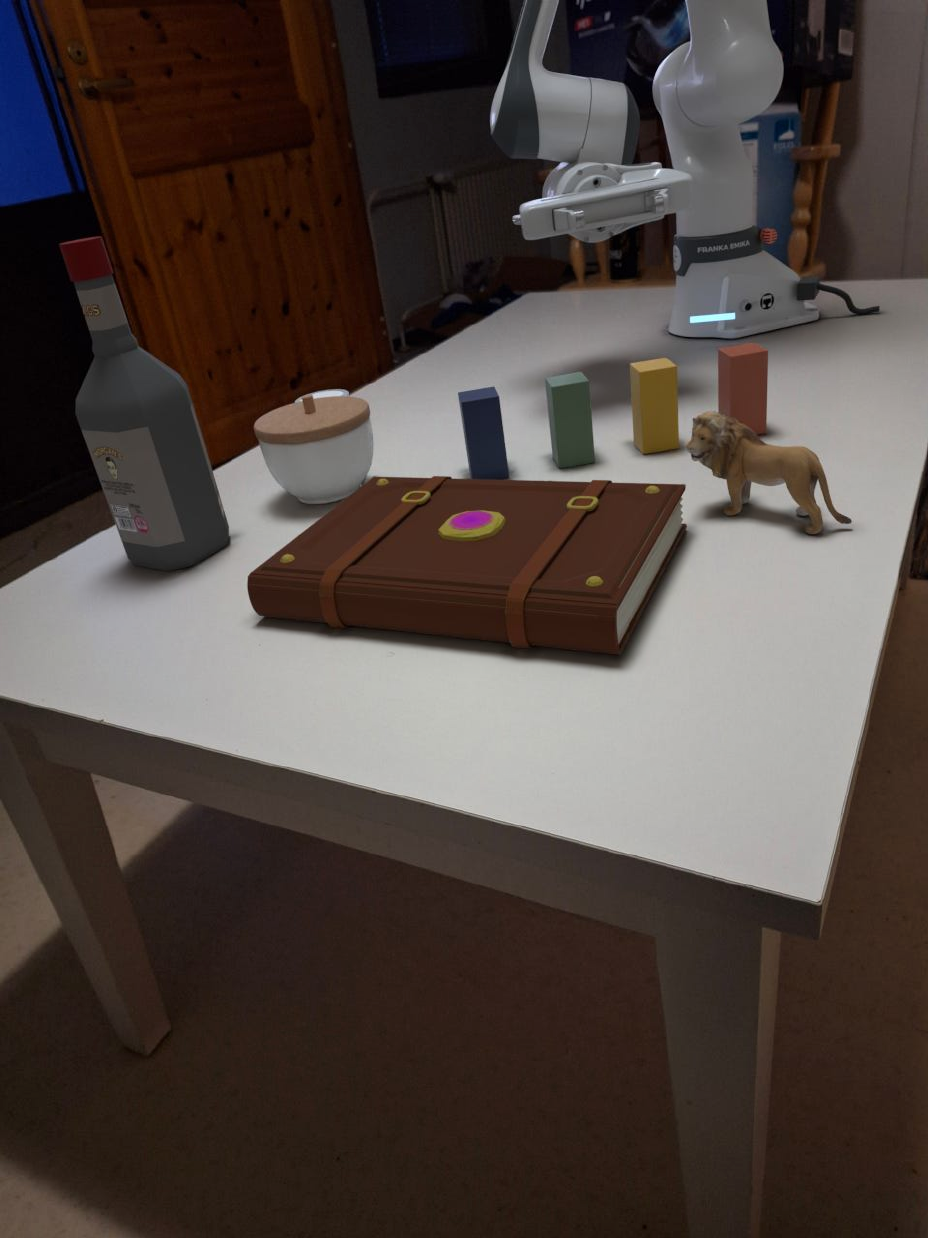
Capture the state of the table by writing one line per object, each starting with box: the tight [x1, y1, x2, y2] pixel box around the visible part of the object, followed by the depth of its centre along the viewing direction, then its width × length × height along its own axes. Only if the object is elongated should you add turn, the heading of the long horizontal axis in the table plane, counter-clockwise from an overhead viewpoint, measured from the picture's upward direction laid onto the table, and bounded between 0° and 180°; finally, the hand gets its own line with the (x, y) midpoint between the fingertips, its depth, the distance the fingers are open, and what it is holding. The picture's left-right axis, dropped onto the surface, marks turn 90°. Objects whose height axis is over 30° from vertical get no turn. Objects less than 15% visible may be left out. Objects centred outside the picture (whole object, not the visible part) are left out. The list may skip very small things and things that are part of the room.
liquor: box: [58, 235, 230, 572], centre depth 85 cm, size 9×9×30 cm
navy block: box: [457, 386, 510, 480], centre depth 97 cm, size 4×4×9 cm
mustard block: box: [629, 357, 680, 455], centre depth 97 cm, size 4×4×9 cm
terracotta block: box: [717, 342, 769, 436], centre depth 97 cm, size 4×4×9 cm
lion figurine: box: [685, 410, 853, 535], centre depth 78 cm, size 15×5×9 cm, turn 50°
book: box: [246, 475, 688, 656], centre depth 77 cm, size 23×32×5 cm
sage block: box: [544, 371, 596, 469], centre depth 97 cm, size 4×4×9 cm
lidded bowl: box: [253, 394, 375, 505], centre depth 99 cm, size 13×13×11 cm
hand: (619, 212), depth 99 cm, fingers open, 8 cm apart
